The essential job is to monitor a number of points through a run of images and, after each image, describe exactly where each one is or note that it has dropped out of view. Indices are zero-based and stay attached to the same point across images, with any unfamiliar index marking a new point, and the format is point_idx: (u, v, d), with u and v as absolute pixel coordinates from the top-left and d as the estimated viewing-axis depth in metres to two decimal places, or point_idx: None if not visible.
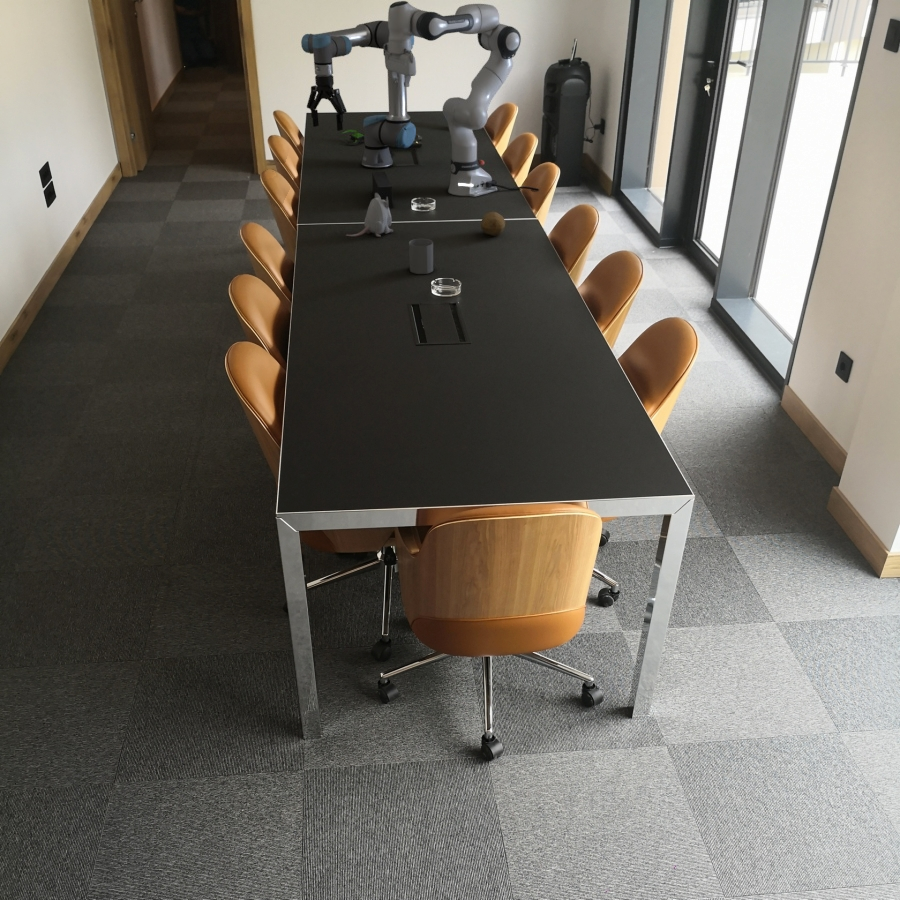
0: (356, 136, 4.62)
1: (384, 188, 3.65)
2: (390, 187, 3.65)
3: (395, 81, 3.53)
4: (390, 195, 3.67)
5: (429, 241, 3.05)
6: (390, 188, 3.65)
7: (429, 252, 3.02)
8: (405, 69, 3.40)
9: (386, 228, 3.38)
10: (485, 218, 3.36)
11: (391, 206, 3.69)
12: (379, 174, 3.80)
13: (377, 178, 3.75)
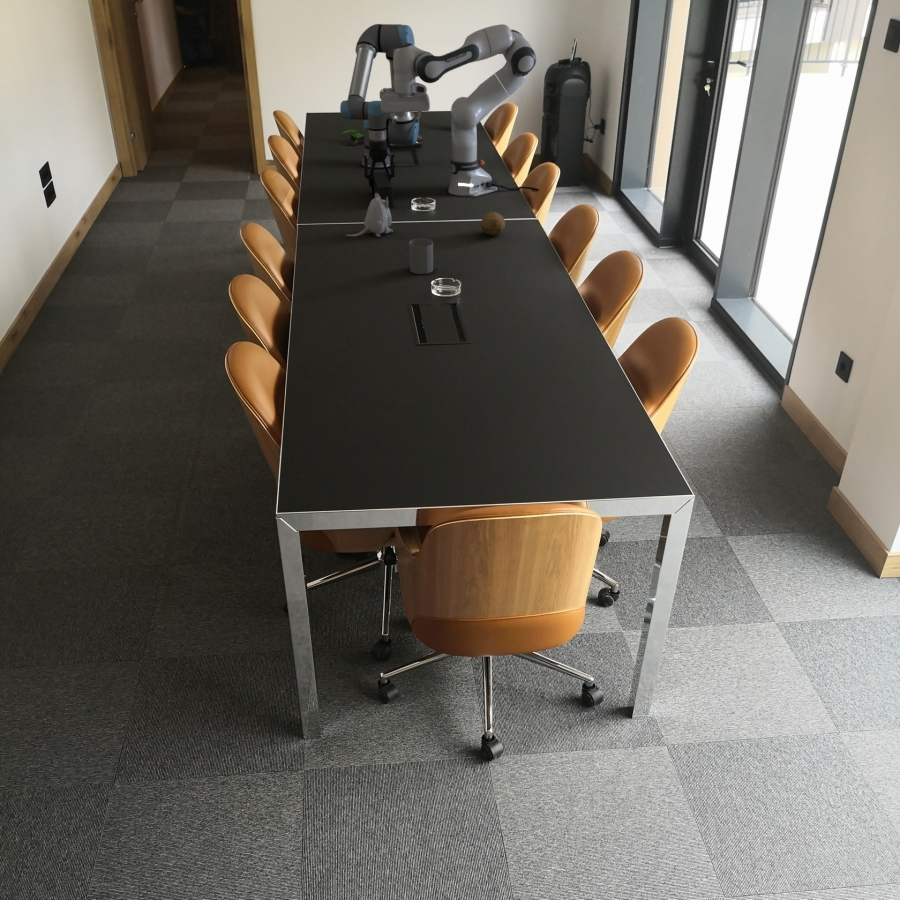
0: (356, 136, 4.62)
1: (384, 188, 3.65)
2: (390, 187, 3.65)
3: (415, 120, 3.60)
4: (390, 195, 3.67)
5: (429, 241, 3.05)
6: (390, 188, 3.65)
7: (429, 252, 3.02)
8: None
9: (386, 228, 3.38)
10: (485, 218, 3.36)
11: (391, 206, 3.69)
12: (379, 174, 3.80)
13: (377, 178, 3.75)
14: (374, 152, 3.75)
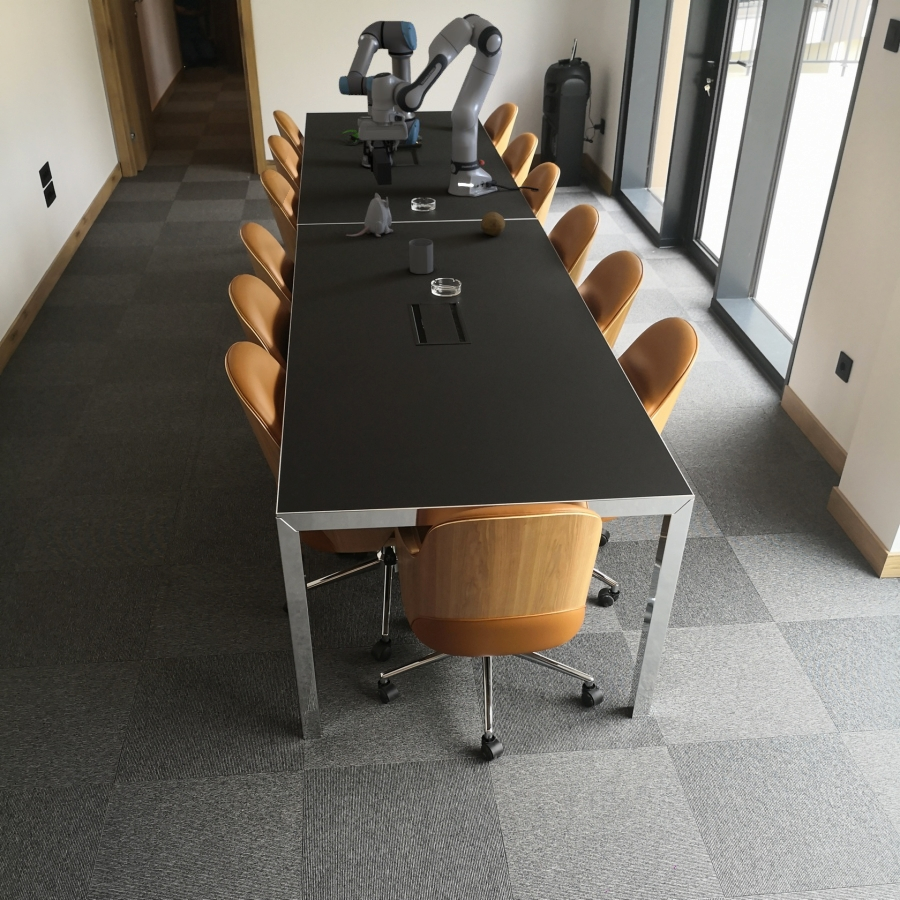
0: (356, 136, 4.62)
1: (383, 164, 3.59)
2: (389, 163, 3.60)
3: None
4: (389, 171, 3.61)
5: (429, 241, 3.05)
6: (389, 164, 3.60)
7: (429, 252, 3.02)
8: None
9: (386, 228, 3.38)
10: (485, 218, 3.36)
11: (390, 183, 3.64)
12: (378, 151, 3.75)
13: (376, 155, 3.70)
14: None
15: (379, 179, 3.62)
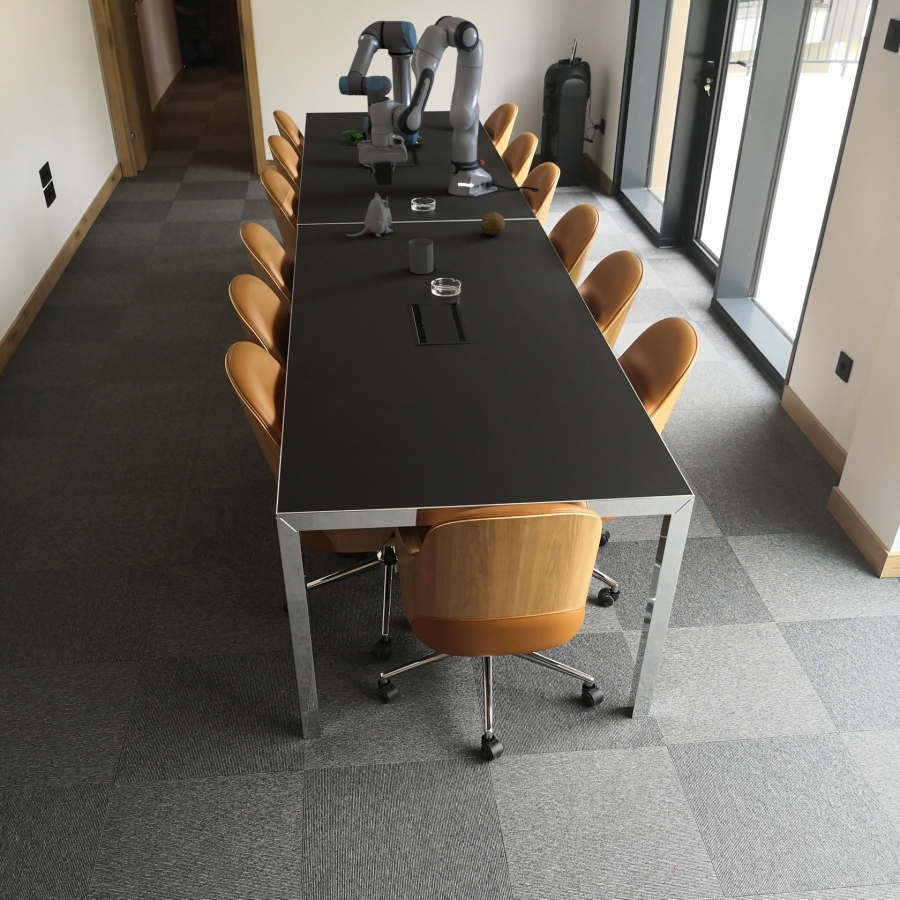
0: (356, 136, 4.62)
1: (383, 164, 3.59)
2: (389, 163, 3.60)
3: None
4: (389, 171, 3.61)
5: (429, 241, 3.05)
6: (389, 164, 3.60)
7: (429, 252, 3.02)
8: None
9: (386, 228, 3.38)
10: (485, 218, 3.36)
11: (390, 183, 3.64)
12: None
13: None
14: None
15: (379, 179, 3.62)
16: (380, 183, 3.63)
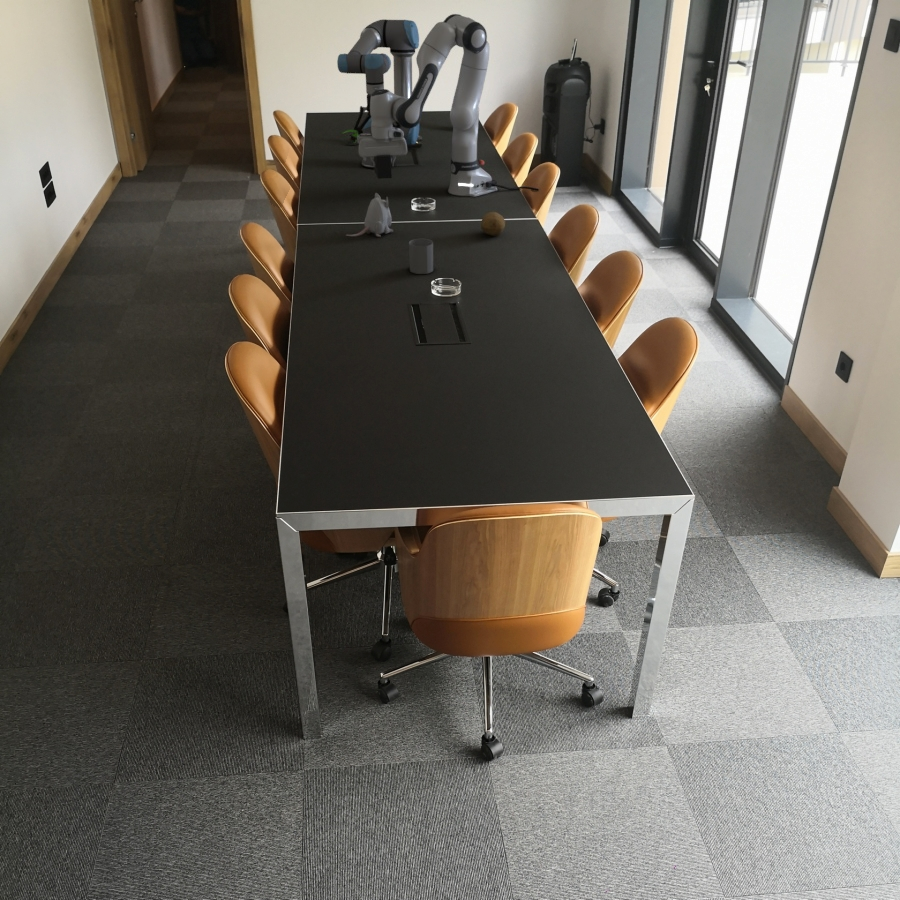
0: (356, 136, 4.62)
1: (383, 157, 3.58)
2: (389, 156, 3.58)
3: None
4: (389, 165, 3.60)
5: (429, 241, 3.05)
6: (389, 157, 3.58)
7: (429, 252, 3.02)
8: None
9: (386, 228, 3.38)
10: (485, 218, 3.36)
11: (390, 176, 3.62)
12: None
13: None
14: None
15: (379, 172, 3.61)
16: (380, 176, 3.62)
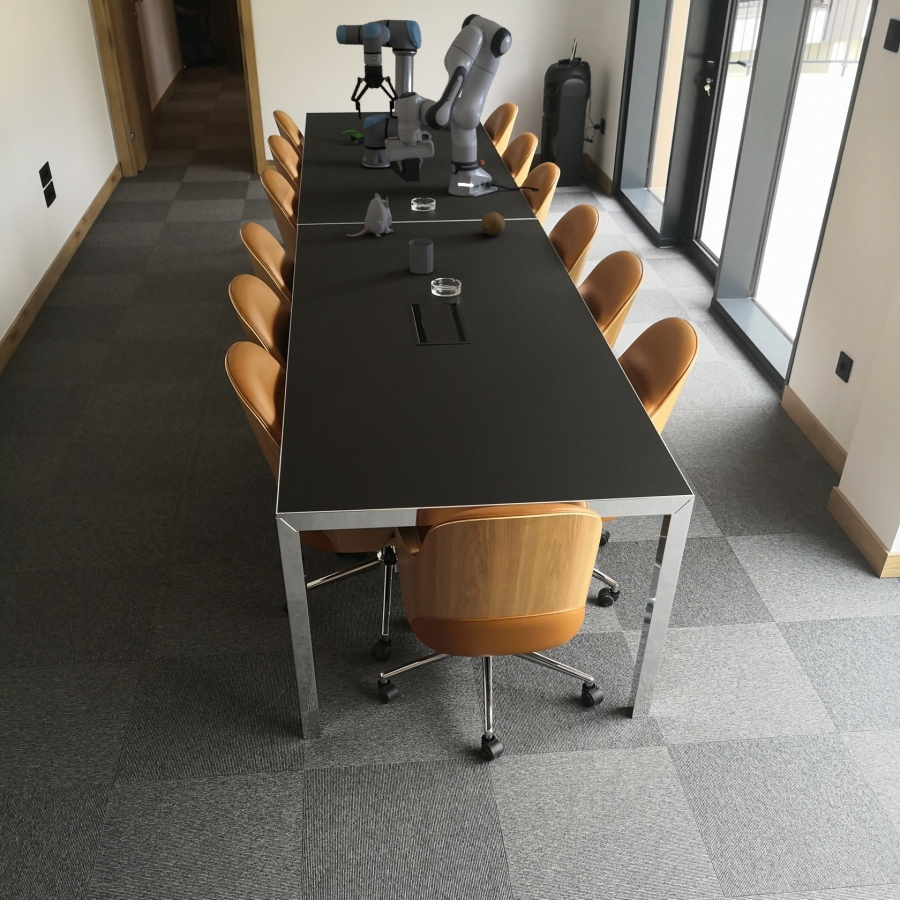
0: (356, 136, 4.62)
1: (411, 160, 3.54)
2: (417, 159, 3.54)
3: None
4: (417, 168, 3.56)
5: (429, 241, 3.05)
6: (417, 160, 3.55)
7: (429, 252, 3.02)
8: None
9: (386, 228, 3.38)
10: (485, 218, 3.36)
11: (418, 179, 3.59)
12: None
13: None
14: (369, 77, 3.64)
15: (407, 176, 3.57)
16: (408, 180, 3.58)
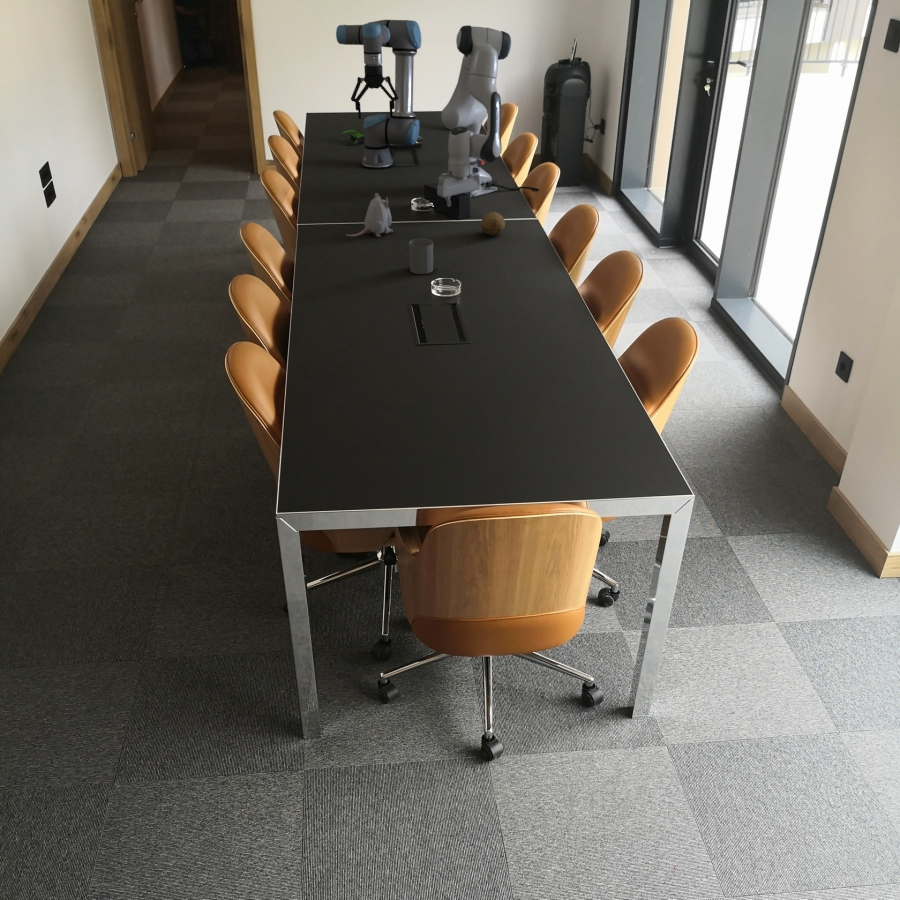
0: (356, 136, 4.62)
1: (464, 198, 3.53)
2: (469, 196, 3.54)
3: None
4: (468, 204, 3.56)
5: (429, 241, 3.05)
6: (469, 197, 3.55)
7: (429, 252, 3.02)
8: None
9: (386, 228, 3.38)
10: (485, 218, 3.36)
11: (469, 215, 3.59)
12: (435, 185, 3.66)
13: None
14: (369, 77, 3.64)
15: (460, 213, 3.55)
16: (461, 217, 3.57)
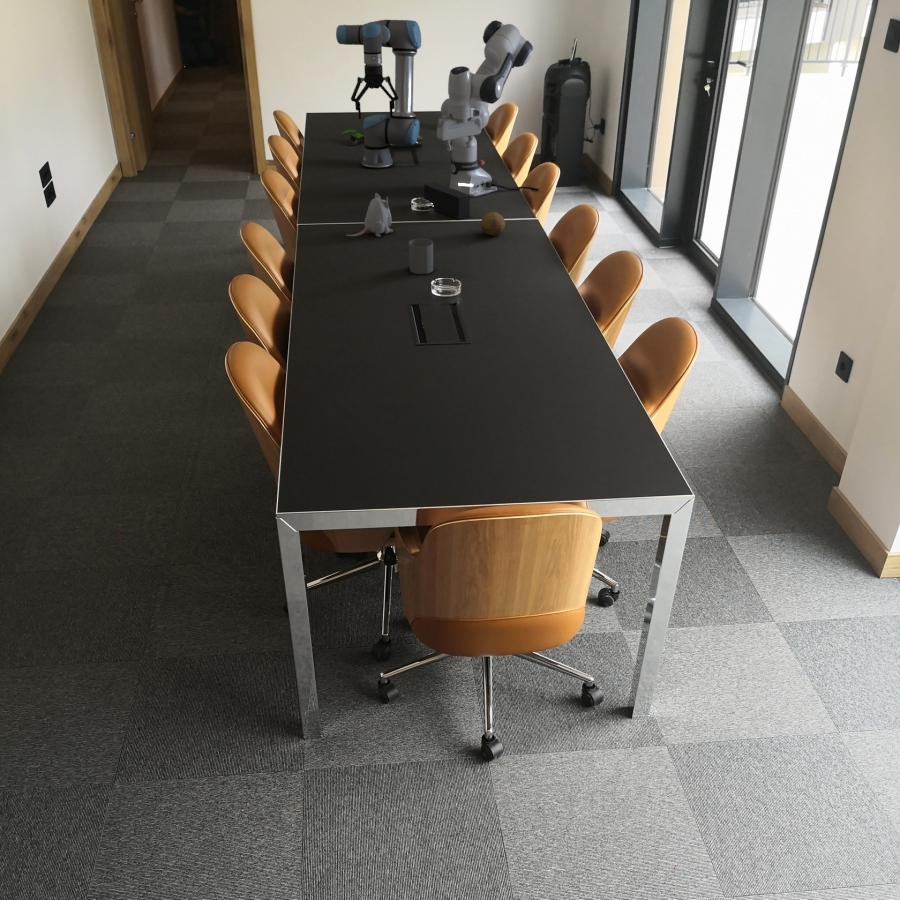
0: (356, 136, 4.62)
1: (463, 198, 3.53)
2: (468, 196, 3.54)
3: (466, 145, 3.48)
4: (468, 204, 3.56)
5: (429, 241, 3.05)
6: (468, 197, 3.54)
7: (429, 252, 3.02)
8: None
9: (386, 228, 3.38)
10: (485, 218, 3.36)
11: (468, 215, 3.59)
12: (435, 185, 3.66)
13: (441, 189, 3.61)
14: (369, 77, 3.64)
15: (459, 213, 3.55)
16: (460, 217, 3.56)
